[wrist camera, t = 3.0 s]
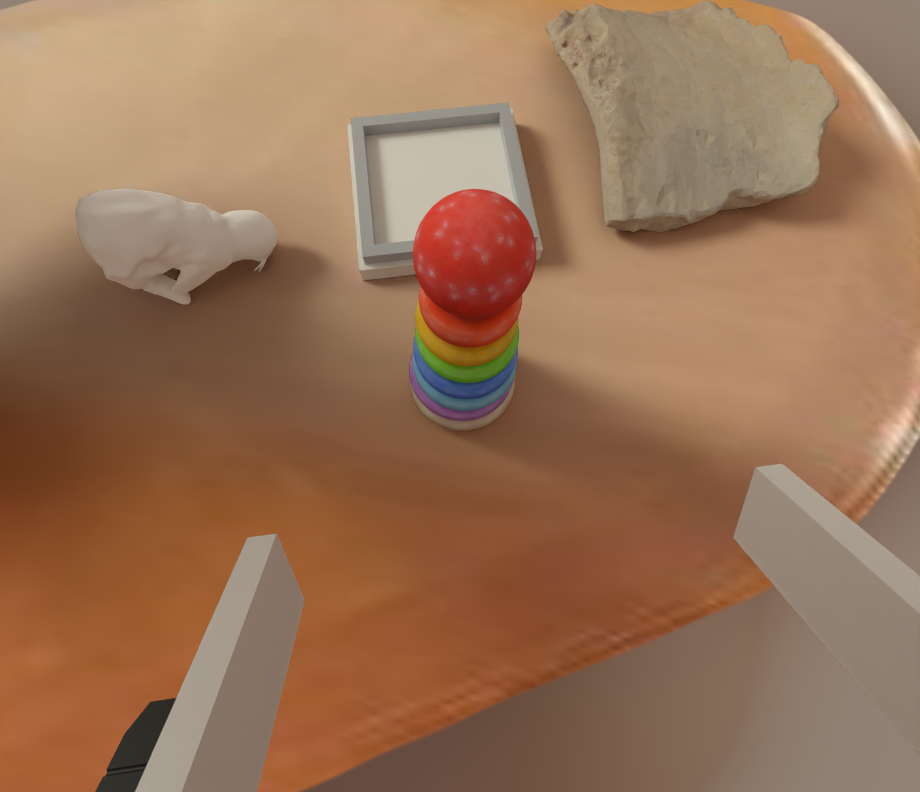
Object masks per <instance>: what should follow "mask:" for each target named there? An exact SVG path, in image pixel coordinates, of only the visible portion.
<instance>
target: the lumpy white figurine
mask: <svg viewBox="0 0 920 792" xmlns="http://www.w3.org/2000/svg"><path fill="white" fill-rule="evenodd" d="M76 219H77V229H78V235H79V239H80V241H81V243H82V245H83V248H84V250H85V251H86V253H87V254H88V255H89V256H90V257H91V258H92V259H93V260H94V261H95V262H96V263H97V264H98V265H100V266H101V268H102V270H103V273H104V275H105V277H106V278H107V279H109V280H112V281H115V282H117V283H120V284H122V285H124V286H126V287H128V288H131V289H141V288H142V289H143V290H145V291H147V292H150V293H152V294H155V295H160V296H163V297H165V298H168V299H170V300H173V301H175V302H177V303H179V304H185V305H187V304H189V303H190V302H191V297H190V294H189V293H188V292H189V291H191V290H193V289H194V288H196V287H197V286H199V285H200V284H202V283H203V282H205V281H206V280H207V279H209V278H210V277H211V276H212V275H213V274H214V273H216V272H217V271H221V270H224V269H225V268H227V267H228V266H229V265H230V264H231V263H233V262H237V261H240V260H245V259H253V260H255V261H257V262H258V261H260V262H261V263H260V264H259V265H258V266H257V268H256V269H258V268H259V267H260V266H261V267H260V270H261V269H262V268H263V266H264V264H265V262H266V260H267V258H268V257H269V255H271V253H272V251H273V249H274V247H275V246H276V245H277V242H278V234H277V231H276V229H275V227H274V225H273V223H272V222H271V221H270V219H269V218H268V217H267V216H265V215H264V214H262V213H260V212H257V211H252V210H237V211H230V212H227V213H224V214H220V213H219V212H217V211H215V210H213V209H211V208H210V207H208V206H206V205H204V204H201V203H191V202H187V201H184V200H182V199H180V198H177V197H175V196H172V195H168V194H161V193H158V192H154V191H144V190H137V189H132V188H122V189H112V190H101V191H97V192H95V193H92V194H89V195H87V196H84V197H82V198H80V199H79V201H78V204H77V207H76ZM254 263H255V262H254ZM258 263H259V262H258ZM253 266H254V265H253ZM172 268H175V269H177V270H180V271H181V272H180V275H179V277H178V279H177V281H176V280H174V279H171V278H169V277H167V276H166V275H164V274H162V273H165V272H167V271H168V270H170V269H172ZM256 269H255V270H256ZM255 270H254V271H255ZM260 270H259V272H260ZM259 272H258V273H259Z"/></svg>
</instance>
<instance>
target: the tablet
mask: <svg viewBox="0 0 920 792" xmlns="http://www.w3.org/2000/svg"><path fill="white" fill-rule="evenodd" d="M545 30H546V32H547V33H548V35H549V36H550V38H551V41H552V43H553V44H554V46H555V48H556V51H557V53H558V55H559V56H560V57H561V60H562V61H563V62H564V64H565V65H566V67H567V69H568V70H569V71H570V72H571V74H572V76H573V78H574V79H575V81H576V83H577V86H578V89H579V91H580V93H581V95H582V97H583V101H584V104H585V106H586V108H587V109H588V111H589V113H590V116H591V119H592V123H593V126H594V129H595V132H596V137H597V143H598V146H599V150H600V168H601V185H602V194H603V209H604V220H605V224H606V225H607V227H611V228H615V229H619V230H624V231H631V232H635V231H637V230H640V229H643V230H647V231H656V232H663V231H667V230H670V229H677V228H679V227H681V226H685V225H688V224H692V223H696V222H698V221H700V220H702V219H704V218H706V217H708V216H711V215H714V214H715V213H716V212H717V211H719V210H728V209H738V208H743V207H753V206H757V205H759V204H761V203H767V202H769V201H771V200H773V199H781V198H784V197H788V196H800V195H802V194H804V193H806V192H807V191H808V190H809V189H810V188H811V187H812V186H813V185H815V183H816V182H817V180H818V177H819V166H820V159H819V157H818V154H819V147H820V144H821V141H822V137H823V135H824V132H825V130H826V127H827V121H828V119H829V117H830V116H831V114H832V113H833V112H834V111H835V110H836V109H837V108H838V107H839V99H838V98H837V97H836V96H835V94H834V89H833V87H832V86H831V84H830V83H829V82H828V80H827V79H826V78H825V77H824V76H823V75H822V72H821V68H820V66H817V65H815V64H804V60H802V59H798V60H795V61H793V62H792V61H791V60H790V58H789V57H788V51H787V50H786V48H785V46H784V45H783V41H782V37H781V35H778V34H776V32H775V31H774V29H773V28H772V27H771V26H769V25H761V26H752V25H751V24H749V23H748V21H747V20H746V19H740V18H739V17H738V16H737V15H736V13H735V12H734V11H733V9H732V8H726V9H721V8H720V7H719V6H717V5H716V4H715V3H714V2H711V1H701V2H699V3H698V4H696V5H695V6H693V7H690V8H686V9H679V10H672V11H662V12H655V13H651V14H645V13H641V12H638V11H633V10H627V11H618V10H613V9H608V8H605V7H603V6H600V5H597V4H593V5H588V6H586V7H585V8H583V9H581V10H575V11H574V12H568V11H566V10H565V9H563V10H562V11H561V13H560V14H559V15H558V16H557V17H556V18H555V19H554V20H553V21H550V22H549V23H548V24H547V25H546V27H545Z"/></svg>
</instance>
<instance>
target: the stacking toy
mask: <svg viewBox="0 0 920 792" xmlns="http://www.w3.org/2000/svg"><path fill="white" fill-rule="evenodd" d="M535 263H536V243H535V238H534V234H533V231H532V228H531V225H530V223H529V221H528V220H527V218H526V216H525V215H524V214H523V212H522V211H521V210H520V209H519V208H518V206H517V205H515V204H514V203H513V202H512V201H510V200H509V199H507V198H506V197H504V196H502V195H500V194H498V193H496V192H493V191H489V190H483V189H467V190H461V191H458V192H455V193H452V194H450V195H448V196H446V197H444V198H442V199H441V200H440V201H438V202H437V203H436V204H435V205H434V206H433V207H432V208H431V209H430V210H429V211H428V212H427V213H426V215H425V216H424V218H423V219H422V221H421V222H420V224H419V227H418V229H417V232H416V235H415V240H414V245H413V264H414V270H415V273H416V277H417V279H418V281H419V284H420V285H421V286H420V290H419V300H418V303H417V307H416V314H415V320H416V329H415V339H414V351H413V353H412V356H411V360H410V366H409V376H410V389H411V393H412V396H413V398H414V401H415V403H416V404H417V406H418V408H419V409H420V410H421V412H422V413H423V414H424V415H425V416H426V417H427V418H428V419H430V420H431V421H433V422H434V423H436V424H438V425H440V426H442V427H445V428H448V429H453V430H473V429H477V428H480V427H483V426H485V425H487V424H489V423H491V422H492V421H494V420H495V419H497V418H498V417H499V416H500V415H501V414H502V413H503V412H504V411H505V409H506V408H507V406H508V405H509V403H510V401H511V399H512V397H513V393H514V390H515V373H516V369H517V353H518V347H517V346H518V341H519V327H518V316H519V313H520V310H521V305H522V294H523V292H524V291H525V289H526V288H527V286H528V284H529V283H530V281H531V278H532V275H533V272H534V269H535Z"/></svg>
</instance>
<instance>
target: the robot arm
mask: <svg viewBox="0 0 920 792" xmlns="http://www.w3.org/2000/svg"><path fill="white" fill-rule="evenodd" d="M733 538H734V539H735V540H736V542H737V543H738V544H739V545H740V546H741V547H742V549H743V550H744V551H745V552H746V553H747V554H748V556H749V557H750V558H751V559H752V560H753V561H754V563H755V564H756V565H757V566H758V567H759V569H760V570H761V571H762V572H763V573H764V574H765V576H766V577H767V578H768V579H769V580H770V581H771V583H772V584H773V585H774V586H775V587H776V588H777V590H778V591H779V592H780V593H781V594H782V595H783V597H784V598H785V599H786V600H787V601H788V602H789V604H790V605H791V606H792V607H793V608H794V610H795V611H796V612H797V613H798V614H799V615H800V617H801V618H802V619H803V620H804V621H805V622H806V624H807V625H808V626H809V627H810V628H811V630H812V631H813V632H814V633H815V634H816V635H817V637H818V638H819V639H820V640H821V641H822V642H823V644H824V645H825V646H826V647H827V648H828V649H829V651H830V652H831V653H832V654H833V655H834V657H835V658H836V659H837V660H838V661H839V662H840V663H841V665H842V666H843V667H844V668H845V669H846V671H847V672H848V673H849V674H850V675H851V676H852V678H853V679H854V680H855V681H856V682H857V683H858V685H859V686H860V687H861V688H862V689H863V691H864V692H865V693H866V694H867V695H868V696H869V697H870V699H871V700H872V701H873V702H874V703H875V705H876V706H877V707H878V708H879V709H880V710H881V712H882V713H883V714H884V715H885V716H886V717H887V719H888V720H889V721H890V722H891V723H892V724H893V726H894V727H895V728H896V729H897V730H898V731H899V733H900V734H901V735H902V736H903V737H904V739H906V741H907V742H908V743H909V744H910V745H911V747H912V748H913V749H914V750H915V752H916V753H917V754H918V755H919V756H920V576H919V575H918V574H916V573H915V572H914V571H913V570H912V569H910V568H909V567H908V566H906V565H905V564H904V563H903V562H902V561H901V560H899V559H898V558H897V557H896V556H895V555H893V554H892V553H891V552H890V551H888V550H887V549H886V548H885V547H883V546H882V545H881V544H880V543H879V542H877V541H876V540H875V539H873V538H872V537H871V536H870V535H869V534H868V533H866V532H865V531H864V530H863V529H861V528H860V527H859V526H858V525H857V524H855V523H854V522H853V521H852V520H850V519H849V518H848V517H847V516H846V515H844V514H843V513H842V512H841V511H839V510H838V509H837V508H836V507H835V506H833V505H832V504H831V503H830V502H828V501H827V500H826V499H825V498H824V497H822V496H821V495H820V494H819V493H817V492H816V491H815V490H814V489H812V488H811V487H810V486H809V485H808V484H806V483H805V482H804V481H803V480H801V479H800V478H799V477H798V476H797V475H795V474H794V473H793V472H792V471H790V470H789V469H788V468H787V467H786V466H784V465H783V464H775V465H768V466H761V467H755V470H754V473H753V476H752V479H751V483H750V486H749V489H748V492H747V495H746V498H745V501H744V505H743V508H742V511H741V514H740V517H739V520H738V524H737V527H736V530H735V533H734V536H733ZM304 601H305V599H304V596H303V594H302V592H301V589H300V587H299V585H298V582H297V580H296V578H295V575H294V573H293V571H292V568H291V566H290V564H289V561H288V559H287V557H286V554H285V552H284V550H283V547H282V545H281V543H280V540H279V538H278V535H277V534H270V535H263V536H255V537H248V538H247V540H246V542H245V544H244V546H243V549H242V551H241V553H240V555H239V558H238V560H237V562H236V564H235V567H234V569H233V571H232V574H231V576H230V578H229V580H228V583H227V585H226V587H225V589H224V592H223V594H222V596H221V598H220V601H219V603H218V605H217V607H216V610H215V612H214V614H213V617H212V619H211V621H210V623H209V626H208V628H207V630H206V632H205V635H204V637H203V639H202V641H201V644H200V646H199V648H198V650H197V653H196V655H195V657H194V660H193V662H192V664H191V666H190V669H189V671H188V673H187V675H186V678H185V680H184V682H183V684H182V687H181V689H180V691H179V693H178V696H177V698H173V699H166V700H160V701H153V702H150V703H149V704H148V706H147V707H146V708H145V709H144V711H143V712H142V713H141V714H140V716H139V717H138V718H137V719H136V720H135V722H134V723H133V724H132V725H131V727H130V728H129V729H128V730H127V732H126V733H125V734H124V736H123V738H122V740H121V742H120V744H119V746H118V748H117V750H116V752H115V754H114V756H113V758H112V760H111V762H110V764H109V766H108V768H107V774H106V776H105V777H103V778H102V780H101V782H100V784H99V786H98V788H97V790H96V792H257V791H258V787H259V783H260V779H261V775H262V771H263V767H264V763H265V759H266V755H267V751H268V747H269V742H270V738H271V734H272V730H273V726H274V722H275V718H276V714H277V710H278V706H279V702H280V698H281V694H282V690H283V686H284V682H285V678H286V674H287V670H288V666H289V662H290V658H291V654H292V650H293V646H294V642H295V637H296V633H297V629H298V625H299V621H300V617H301V613H302V609H303V605H304Z"/></svg>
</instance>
